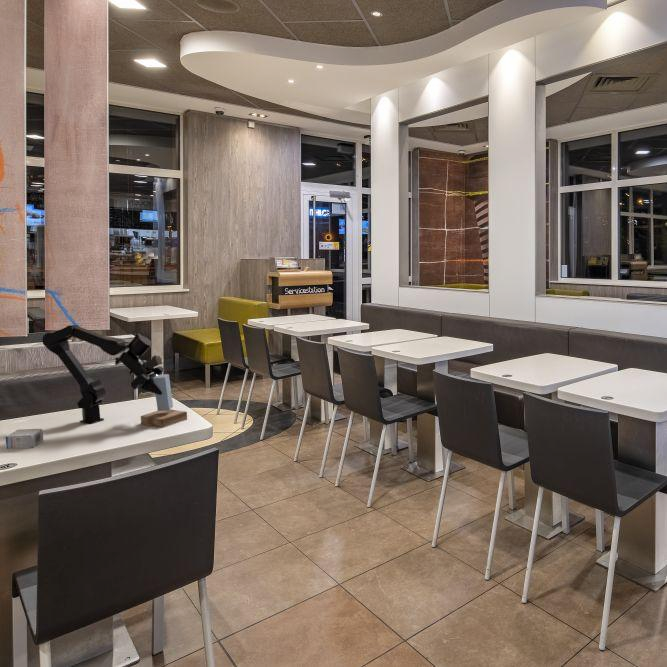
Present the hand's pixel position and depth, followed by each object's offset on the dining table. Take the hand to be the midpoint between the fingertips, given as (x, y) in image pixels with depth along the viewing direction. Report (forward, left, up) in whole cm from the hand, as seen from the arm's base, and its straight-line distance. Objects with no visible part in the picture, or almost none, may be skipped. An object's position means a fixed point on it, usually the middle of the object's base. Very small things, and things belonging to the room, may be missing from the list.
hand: (164, 392), depth 210 cm
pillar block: (0, -1, -6) cm, 6 cm away
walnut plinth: (+1, 0, -11) cm, 11 cm away
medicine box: (+18, +39, -9) cm, 44 cm away
